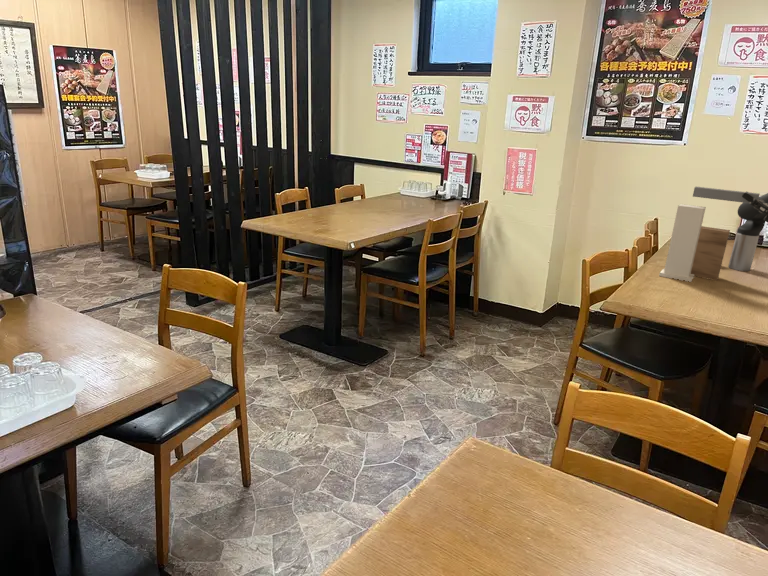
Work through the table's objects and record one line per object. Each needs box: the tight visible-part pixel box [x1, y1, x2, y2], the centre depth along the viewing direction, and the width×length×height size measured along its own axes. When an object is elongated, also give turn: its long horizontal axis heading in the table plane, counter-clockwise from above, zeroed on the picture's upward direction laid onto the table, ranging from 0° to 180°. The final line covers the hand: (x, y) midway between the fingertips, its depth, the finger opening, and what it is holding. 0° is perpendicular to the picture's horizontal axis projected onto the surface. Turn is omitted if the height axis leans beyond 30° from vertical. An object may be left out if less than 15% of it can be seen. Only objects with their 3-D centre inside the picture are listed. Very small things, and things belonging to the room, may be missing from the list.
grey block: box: [692, 186, 761, 204], centre depth 240 cm, size 4×24×4 cm, turn 55°
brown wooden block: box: [691, 225, 731, 281], centre depth 255 cm, size 6×18×22 cm, turn 55°
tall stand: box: [659, 203, 706, 283], centre depth 249 cm, size 9×13×32 cm
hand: (744, 193), depth 236 cm, fingers closed on grey block, 4 cm apart
